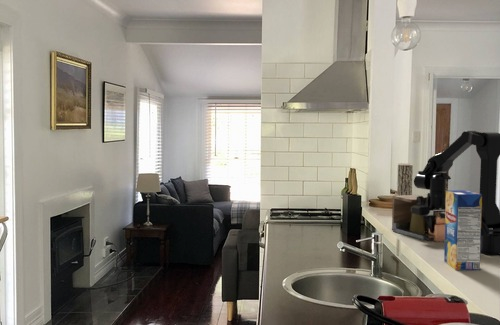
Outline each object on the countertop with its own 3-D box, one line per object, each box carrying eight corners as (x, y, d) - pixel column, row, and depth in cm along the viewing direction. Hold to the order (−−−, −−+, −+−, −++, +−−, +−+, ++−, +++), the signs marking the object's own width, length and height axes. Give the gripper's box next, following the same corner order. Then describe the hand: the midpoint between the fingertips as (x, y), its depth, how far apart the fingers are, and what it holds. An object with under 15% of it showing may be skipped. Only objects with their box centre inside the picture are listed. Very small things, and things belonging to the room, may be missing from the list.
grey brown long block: (451, 240, 199) (451, 219, 199) (430, 242, 196) (430, 220, 195) (412, 229, 220) (412, 210, 220) (392, 231, 217) (393, 211, 217)
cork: (425, 234, 210) (426, 206, 210) (409, 234, 212) (410, 206, 211) (424, 231, 216) (424, 204, 216) (408, 231, 218) (408, 204, 217)
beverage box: (455, 270, 156) (457, 194, 155) (444, 261, 167) (445, 190, 166) (480, 270, 155) (482, 194, 154) (466, 261, 166) (468, 190, 165)
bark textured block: (393, 215, 259) (394, 163, 258) (404, 214, 262) (405, 163, 261) (403, 217, 253) (404, 164, 252) (414, 216, 256) (415, 164, 255)
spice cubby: (437, 234, 211) (437, 198, 210) (410, 235, 208) (411, 199, 207) (417, 228, 224) (417, 194, 223) (392, 229, 221) (392, 195, 220)
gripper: (446, 188, 211) (445, 227, 212) (403, 189, 206) (403, 230, 206) (464, 191, 200) (463, 232, 201) (420, 192, 195) (419, 235, 196)
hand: (437, 232), depth 201 cm, fingers closed on grey brown long block, 4 cm apart
